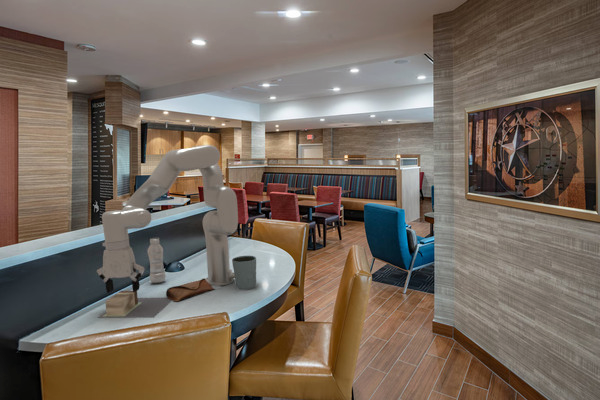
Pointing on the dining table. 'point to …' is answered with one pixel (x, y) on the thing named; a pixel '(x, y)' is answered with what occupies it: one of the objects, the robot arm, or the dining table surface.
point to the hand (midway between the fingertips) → (123, 291)
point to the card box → (121, 303)
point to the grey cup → (244, 272)
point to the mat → (143, 308)
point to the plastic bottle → (156, 261)
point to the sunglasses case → (188, 290)
